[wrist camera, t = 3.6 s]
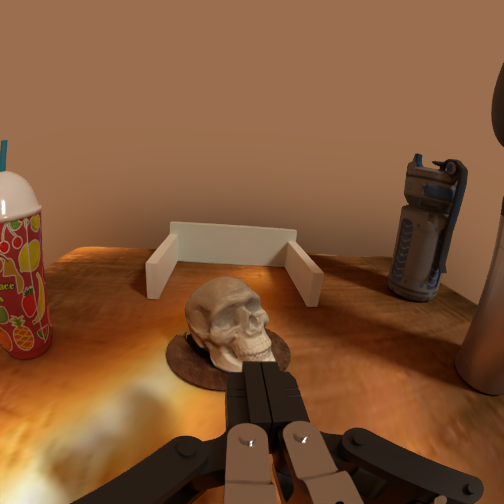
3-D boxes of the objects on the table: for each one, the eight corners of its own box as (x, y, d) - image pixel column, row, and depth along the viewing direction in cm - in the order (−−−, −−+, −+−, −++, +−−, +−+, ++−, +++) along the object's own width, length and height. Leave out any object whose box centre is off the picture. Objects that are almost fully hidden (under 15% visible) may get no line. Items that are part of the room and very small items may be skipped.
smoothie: (-14, 355, 16) (-48, 149, 10) (24, 319, 24) (7, 146, 18) (38, 378, 16) (-1, 131, 11) (75, 332, 24) (60, 136, 19)
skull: (324, 353, 25) (285, 301, 19) (252, 429, 23) (183, 407, 16) (252, 301, 34) (205, 248, 28) (196, 361, 32) (136, 321, 25)
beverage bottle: (416, 313, 36) (447, 147, 29) (373, 281, 48) (394, 147, 41) (452, 308, 38) (481, 164, 31) (410, 280, 50) (431, 160, 43)
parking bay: (290, 264, 54) (295, 229, 52) (317, 306, 37) (326, 258, 35) (171, 257, 51) (171, 221, 49) (147, 298, 34) (145, 247, 32)
